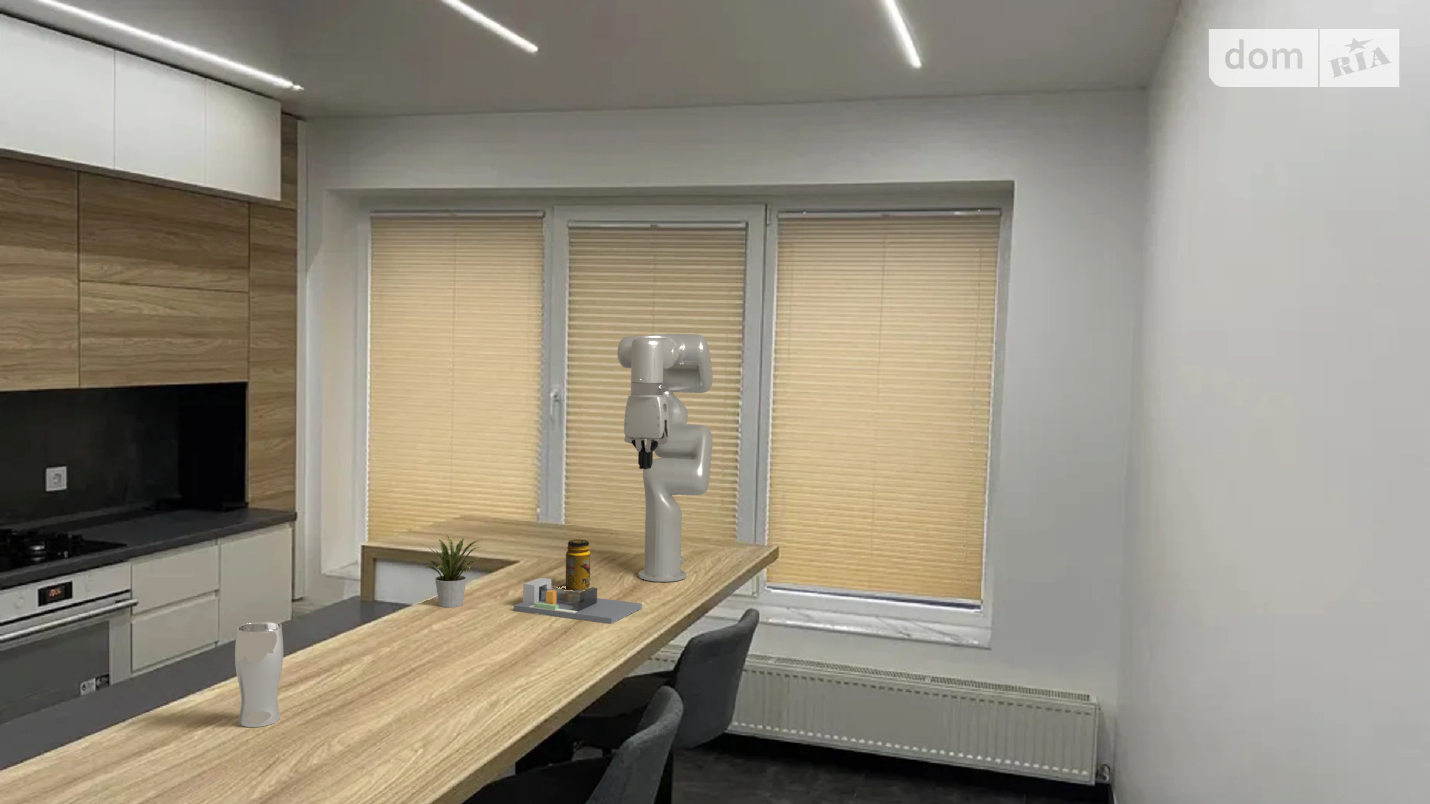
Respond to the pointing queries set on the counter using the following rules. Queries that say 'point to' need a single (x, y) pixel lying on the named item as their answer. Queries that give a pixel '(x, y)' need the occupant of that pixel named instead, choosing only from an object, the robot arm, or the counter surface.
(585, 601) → the plunger
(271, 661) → the beer glass
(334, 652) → the counter surface
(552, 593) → the orange block
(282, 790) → the counter surface
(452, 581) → the house plant
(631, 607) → the board
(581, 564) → the condiment
